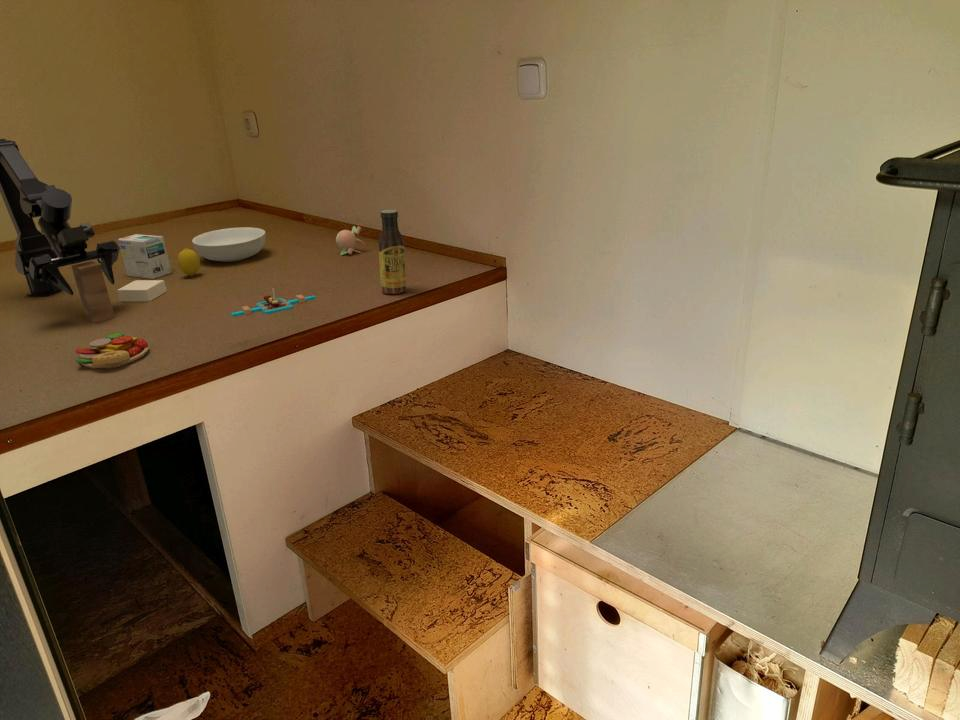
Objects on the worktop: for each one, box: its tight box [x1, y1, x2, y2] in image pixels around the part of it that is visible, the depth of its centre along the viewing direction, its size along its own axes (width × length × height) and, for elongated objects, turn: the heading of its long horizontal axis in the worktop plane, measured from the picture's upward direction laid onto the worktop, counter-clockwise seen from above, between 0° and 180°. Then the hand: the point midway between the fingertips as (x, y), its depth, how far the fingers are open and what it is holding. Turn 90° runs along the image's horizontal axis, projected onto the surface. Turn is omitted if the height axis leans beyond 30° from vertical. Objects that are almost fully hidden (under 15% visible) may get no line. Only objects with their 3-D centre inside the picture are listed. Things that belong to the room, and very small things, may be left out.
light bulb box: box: [117, 233, 172, 280], centre depth 193 cm, size 11×7×11 cm, turn 65°
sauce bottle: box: [378, 209, 407, 295], centre depth 167 cm, size 7×6×20 cm
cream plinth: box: [116, 279, 167, 302], centre depth 176 cm, size 8×8×3 cm
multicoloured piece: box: [230, 288, 317, 318], centre depth 164 cm, size 20×5×9 cm
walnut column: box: [70, 260, 116, 324], centre depth 160 cm, size 4×4×13 cm
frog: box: [335, 225, 366, 256], centre depth 206 cm, size 10×8×8 cm
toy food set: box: [75, 332, 150, 369], centre depth 139 cm, size 13×13×3 cm
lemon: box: [177, 247, 201, 277], centre depth 190 cm, size 6×6×8 cm
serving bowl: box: [191, 227, 267, 263], centre depth 207 cm, size 21×21×7 cm
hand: (93, 288), depth 159 cm, fingers open, 9 cm apart
